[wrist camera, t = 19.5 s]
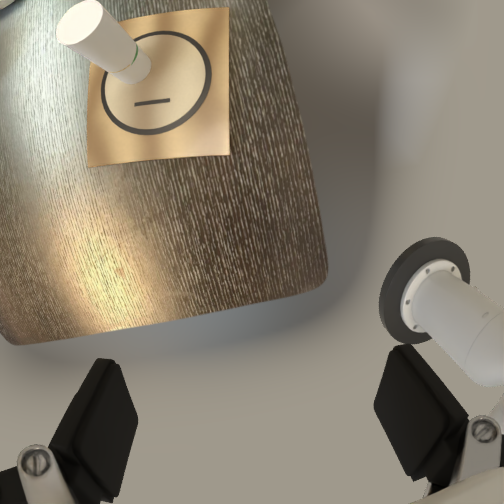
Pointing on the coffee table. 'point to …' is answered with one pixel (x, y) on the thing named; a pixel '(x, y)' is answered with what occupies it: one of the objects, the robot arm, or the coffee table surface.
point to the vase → (5, 3)
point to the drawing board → (165, 92)
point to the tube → (103, 41)
